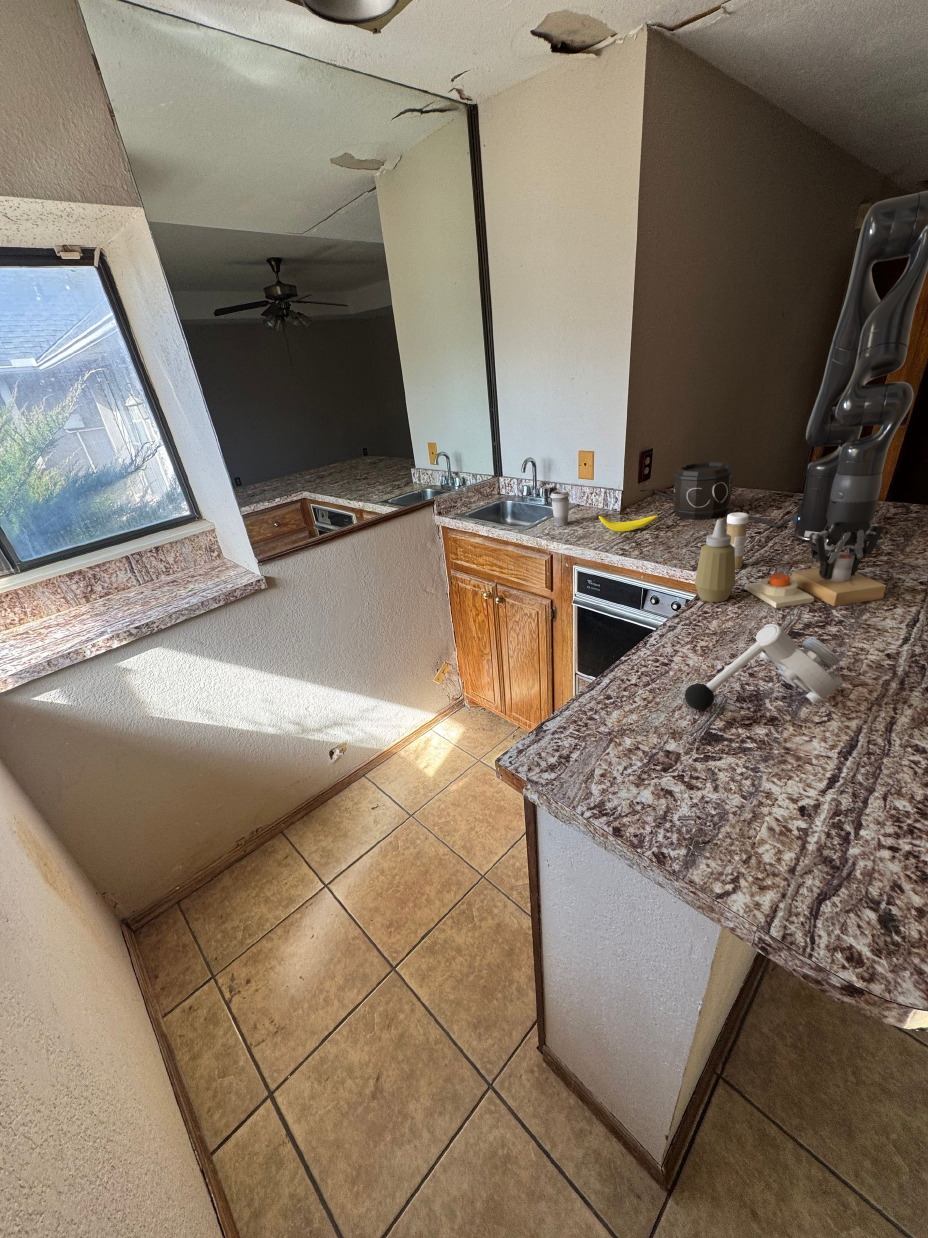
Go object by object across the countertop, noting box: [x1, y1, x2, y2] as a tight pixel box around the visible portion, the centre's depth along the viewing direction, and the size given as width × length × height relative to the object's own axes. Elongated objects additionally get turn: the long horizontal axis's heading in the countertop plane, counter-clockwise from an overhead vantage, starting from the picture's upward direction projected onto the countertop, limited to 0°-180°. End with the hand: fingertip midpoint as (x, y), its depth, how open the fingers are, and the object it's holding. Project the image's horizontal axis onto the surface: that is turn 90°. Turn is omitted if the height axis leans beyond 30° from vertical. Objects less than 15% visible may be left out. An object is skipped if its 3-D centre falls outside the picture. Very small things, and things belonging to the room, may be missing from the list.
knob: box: [827, 551, 855, 582], centre depth 100 cm, size 4×4×5 cm
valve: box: [684, 623, 844, 711], centre depth 74 cm, size 10×20×15 cm
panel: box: [790, 566, 887, 607], centre depth 102 cm, size 13×10×3 cm
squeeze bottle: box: [694, 518, 736, 603], centre depth 104 cm, size 8×8×18 cm
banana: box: [596, 513, 658, 533], centre depth 157 cm, size 3×19×6 cm, turn 71°
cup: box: [549, 489, 571, 527], centre depth 174 cm, size 7×7×12 cm
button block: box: [744, 577, 815, 609], centre depth 104 cm, size 11×8×3 cm
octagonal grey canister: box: [672, 461, 735, 521], centre depth 161 cm, size 18×18×16 cm
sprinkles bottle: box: [726, 511, 750, 569], centre depth 119 cm, size 5×5×13 cm
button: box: [769, 573, 791, 587], centre depth 103 cm, size 4×4×2 cm
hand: (837, 575), depth 101 cm, fingers closed on knob, 4 cm apart
